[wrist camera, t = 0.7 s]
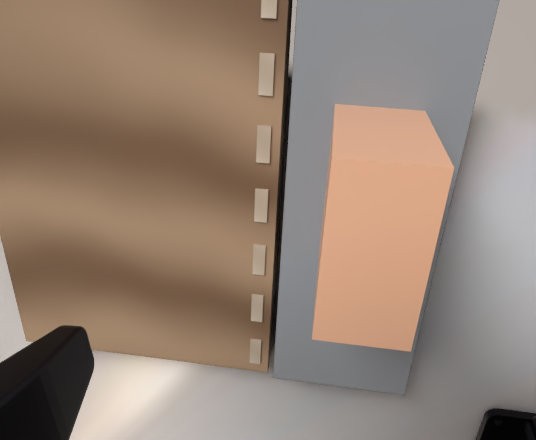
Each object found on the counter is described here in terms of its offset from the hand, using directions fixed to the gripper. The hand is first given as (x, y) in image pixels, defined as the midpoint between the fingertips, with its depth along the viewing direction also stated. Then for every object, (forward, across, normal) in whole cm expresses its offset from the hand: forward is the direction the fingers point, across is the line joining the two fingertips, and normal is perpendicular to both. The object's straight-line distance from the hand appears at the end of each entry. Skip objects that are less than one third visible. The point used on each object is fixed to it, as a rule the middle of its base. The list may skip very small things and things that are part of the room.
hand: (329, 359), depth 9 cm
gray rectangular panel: (+12, -1, +2) cm, 12 cm away
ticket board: (+12, +8, +1) cm, 15 cm away
